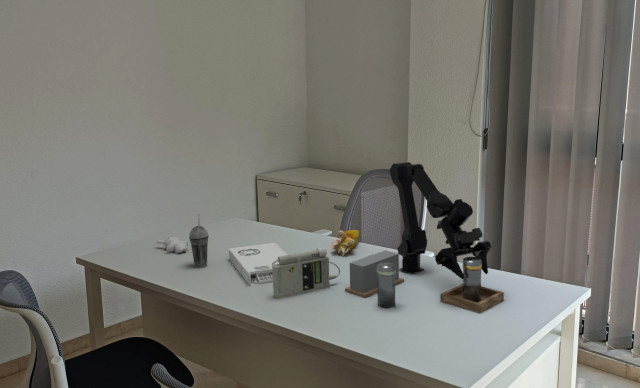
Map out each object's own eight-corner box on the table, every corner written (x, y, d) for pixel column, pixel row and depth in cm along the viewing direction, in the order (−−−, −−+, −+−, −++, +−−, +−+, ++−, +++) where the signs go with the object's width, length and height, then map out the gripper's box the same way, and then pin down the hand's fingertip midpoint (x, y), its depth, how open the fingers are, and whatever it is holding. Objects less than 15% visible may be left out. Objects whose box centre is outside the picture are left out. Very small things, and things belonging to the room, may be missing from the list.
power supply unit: (250, 288, 224) (249, 274, 223) (229, 260, 255) (228, 248, 254) (302, 280, 231) (301, 266, 230) (275, 254, 261) (275, 242, 260)
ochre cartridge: (464, 294, 209) (464, 255, 206) (482, 296, 206) (483, 257, 204) (460, 301, 203) (461, 261, 201) (479, 303, 201) (480, 263, 198)
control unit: (384, 276, 230) (383, 248, 228) (404, 281, 224) (404, 253, 222) (344, 291, 217) (344, 262, 214) (364, 297, 210) (364, 268, 208)
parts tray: (465, 289, 215) (465, 282, 214) (503, 300, 205) (503, 292, 204) (440, 301, 205) (440, 293, 205) (478, 313, 195) (479, 305, 195)
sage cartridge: (385, 299, 208) (385, 261, 205) (399, 304, 204) (399, 264, 201) (373, 305, 204) (372, 265, 201) (387, 309, 200) (387, 269, 197)
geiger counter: (275, 259, 208) (344, 246, 219) (268, 253, 214) (334, 241, 225) (277, 300, 211) (344, 285, 222) (270, 293, 217) (335, 279, 228)
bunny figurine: (173, 246, 260) (153, 236, 270) (173, 258, 261) (154, 247, 271) (193, 241, 266) (173, 231, 276) (193, 253, 267) (174, 242, 278)
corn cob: (358, 248, 275) (342, 259, 252) (342, 239, 277) (325, 248, 253) (368, 232, 273) (352, 241, 250) (352, 222, 275) (335, 230, 252)
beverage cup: (187, 268, 245) (183, 216, 241) (197, 262, 252) (194, 212, 248) (204, 269, 243) (200, 218, 238) (214, 264, 249) (210, 213, 245)
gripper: (440, 224, 199) (462, 268, 192) (489, 216, 207) (512, 258, 200) (425, 242, 208) (446, 285, 200) (472, 234, 216) (494, 275, 208)
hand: (475, 276), depth 202 cm, fingers open, 9 cm apart
